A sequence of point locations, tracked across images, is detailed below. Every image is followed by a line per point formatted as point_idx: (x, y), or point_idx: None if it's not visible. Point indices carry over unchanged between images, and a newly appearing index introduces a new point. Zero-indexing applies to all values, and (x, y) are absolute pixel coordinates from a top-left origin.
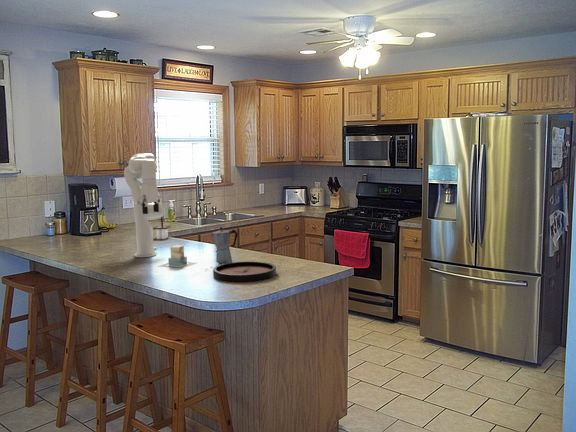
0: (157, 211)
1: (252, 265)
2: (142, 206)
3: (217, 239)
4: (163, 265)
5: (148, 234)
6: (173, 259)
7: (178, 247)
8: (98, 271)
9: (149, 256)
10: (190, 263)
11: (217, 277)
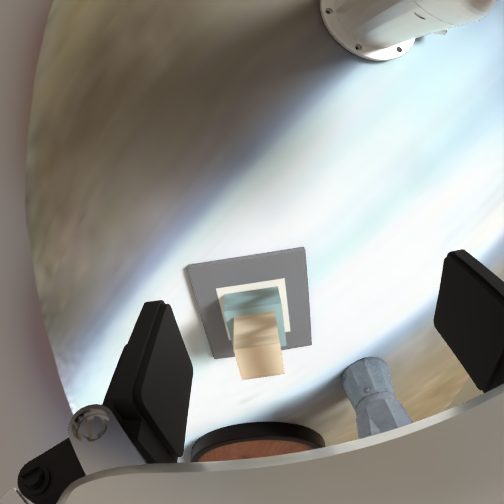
0: (435, 320)
1: (324, 444)
2: (90, 425)
3: (359, 438)
4: (214, 276)
5: (418, 22)
6: (229, 329)
7: (243, 379)
8: (34, 110)
9: (353, 53)
10: (293, 332)
11: (193, 449)
